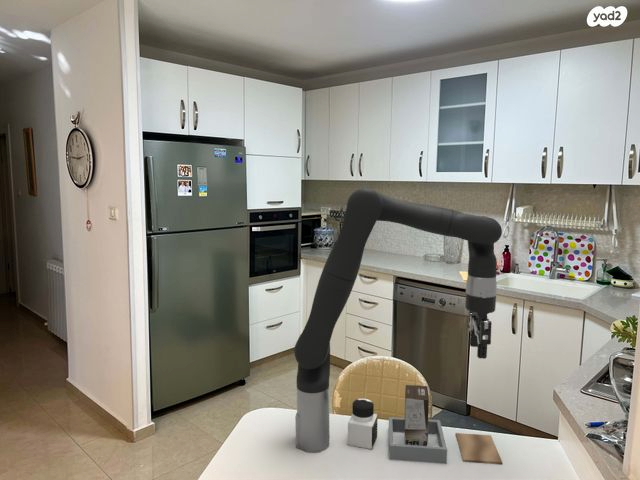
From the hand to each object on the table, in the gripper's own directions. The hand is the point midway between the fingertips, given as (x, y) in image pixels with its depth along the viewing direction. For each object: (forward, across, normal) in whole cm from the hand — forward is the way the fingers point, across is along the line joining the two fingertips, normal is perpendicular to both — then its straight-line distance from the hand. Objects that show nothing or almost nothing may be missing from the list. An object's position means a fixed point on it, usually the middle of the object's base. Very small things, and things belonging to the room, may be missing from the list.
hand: (477, 351), depth 121 cm
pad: (+29, -3, +2) cm, 29 cm away
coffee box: (+30, -3, -15) cm, 33 cm away
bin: (+29, -3, -15) cm, 33 cm away
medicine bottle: (+30, -4, -30) cm, 42 cm away
